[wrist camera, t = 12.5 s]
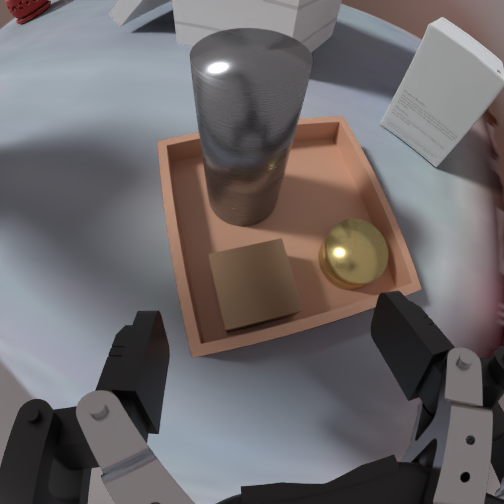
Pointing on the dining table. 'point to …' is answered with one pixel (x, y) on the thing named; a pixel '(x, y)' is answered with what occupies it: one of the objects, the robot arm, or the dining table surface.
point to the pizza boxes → (241, 17)
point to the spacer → (247, 116)
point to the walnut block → (254, 285)
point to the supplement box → (443, 91)
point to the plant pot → (26, 9)
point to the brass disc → (353, 254)
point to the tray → (279, 232)
